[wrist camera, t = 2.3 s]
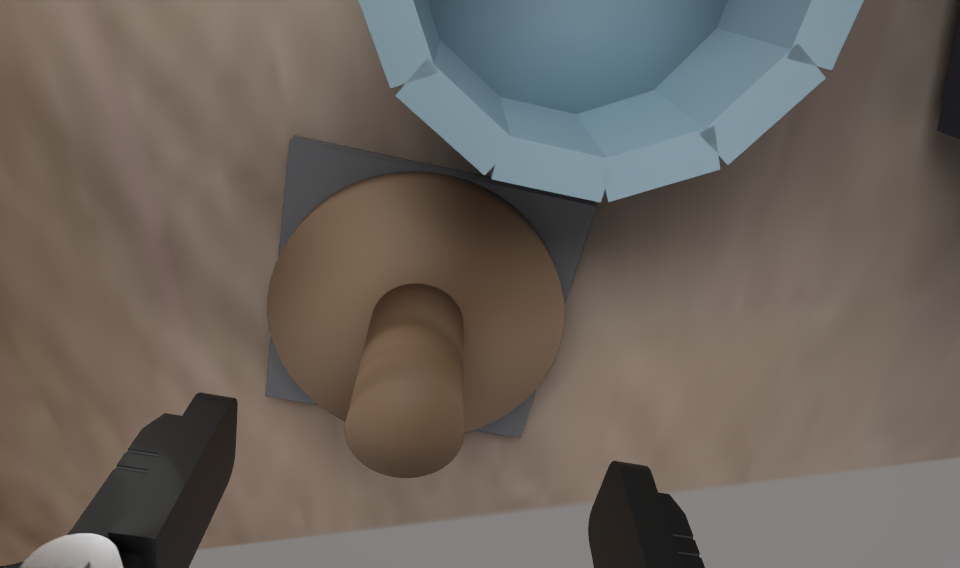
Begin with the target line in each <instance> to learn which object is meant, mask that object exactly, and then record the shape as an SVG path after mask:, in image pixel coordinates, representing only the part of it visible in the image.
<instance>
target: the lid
mask: <svg viewBox="0 0 960 568" xmlns="http://www.w3.org/2000/svg"><path fill="white" fill-rule="evenodd" d="M267 314H268V322H269V329H270V333H271V336H272V340H273V343H274V347H275V349H276V351H277V353H278V355H279V357H280V360H281V362H282V363H283V365H284V367H285V368H286V370H287V371H288V373H289V375H290V376H291V377H292V379H293V380H294V381H295V382H296V383H297V385H298V386H299V387H300V388H301V389H302V390H303V391H304V392H305V393H306V394H307V395H308V396H309V397H310V398H311V399H312V400H313V401H314V402H316V403H317V404H319V405H320V406H321V407H323V408H324V409H325V410H327V411H328V412H330V413H331V414H333V415H335V416H337V417H338V418H340V419H342V420H344V421H346V423H345V437H346V441H347V444H348V446H349V448H350V450H351V452H352V453H353V454H354V456H355V457H356V458H357V459H358V460H359V461H360V462H361V463H363V464H364V465H365V466H367V467H368V468H370V469H372V470H374V471H376V472H378V473H381V474H384V475H387V476H392V477H399V478H413V477H420V476H425V475H428V474H431V473H434V472H436V471H438V470H440V469H442V468H443V467H445V466H446V465H447V464H449V463H450V462H451V461H452V460H453V459H454V458H455V456H456V455H457V454H458V452H459V450H460V448H461V446H462V443H463V438H464V433H465V432H469V431H472V430H475V429H478V428H481V427H483V426H485V425H487V424H490V423H492V422H494V421H496V420H498V419H499V418H501V417H503V416H505V415H506V414H508V413H510V412H511V411H512V410H514V409H515V408H516V407H518V406H519V405H520V404H522V403H523V402H524V401H525V400H526V399H527V398H528V397H529V396H530V395H531V394H532V393H533V392H534V391H535V390H536V388H537V387H538V386H539V385H540V384H541V382H542V381H543V380H544V378H545V377H546V375H547V373H548V372H549V370H550V368H551V367H552V365H553V363H554V360H555V358H556V356H557V353H558V351H559V348H560V344H561V340H562V336H563V330H564V320H565V312H564V299H563V294H562V288H561V284H560V280H559V277H558V274H557V270H556V267H555V265H554V262H553V259H552V256H551V254H550V252H549V250H548V248H547V246H546V244H545V242H544V240H543V239H542V237H541V236H540V234H539V233H538V232H537V230H536V229H535V228H534V226H533V225H532V223H531V222H530V221H529V220H528V219H527V218H526V217H525V216H524V215H523V214H522V213H521V212H520V211H519V210H518V209H516V208H515V207H514V206H513V205H511V204H510V203H509V202H507V201H506V200H505V199H504V198H502V197H500V196H499V195H497V194H495V193H493V192H492V191H490V190H488V189H487V188H484V187H482V186H480V185H477V184H475V183H473V182H470V181H468V180H465V179H461V178H457V177H454V176H450V175H446V174H439V173H432V172H414V171H406V172H396V173H387V174H383V175H378V176H374V177H370V178H366V179H364V180H361V181H358V182H356V183H353V184H351V185H348V186H346V187H344V188H343V189H341V190H339V191H337V192H335V193H333V194H332V195H330V196H329V197H328V198H326V199H325V200H324V201H322V202H321V203H320V204H318V205H317V206H316V207H315V208H314V209H313V210H312V211H311V212H310V213H309V214H308V215H307V216H306V217H305V218H304V219H303V220H302V221H301V223H300V224H299V225H298V227H297V228H296V230H295V231H294V232H293V234H292V235H291V237H290V239H289V240H288V242H287V244H286V245H285V247H284V249H283V251H282V253H281V255H280V257H279V259H278V260H277V262H276V265H275V268H274V271H273V274H272V277H271V280H270V286H269V291H268V305H267Z"/></svg>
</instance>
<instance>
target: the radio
mask: <svg viewBox="0 0 960 568" xmlns="http://www.w3.org/2000/svg"><path fill="white" fill-rule="evenodd" d="M937 131H940V132H942V133H945V134H948V135H950V136H953V137H956V138H958V139H960V15H959V21H958V26H957V31H956V36H955V41H954V46H953V51H952V57H951V62H950V67H949V72H948V77H947V82H946V87H945V92H944V98H943V103H942V108H941V113H940V118H939V123H938V128H937Z"/></svg>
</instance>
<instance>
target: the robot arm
mask: <svg viewBox="0 0 960 568" xmlns="http://www.w3.org/2000/svg"><path fill="white" fill-rule="evenodd" d="M236 427H237V400H236V398H230V397H224V396H218V395H212V394H206V393H198V394H196V395H195V397H194V398H193V400H192V401H191V403H190V405H189V406H188V408H187V409H186V411H185V412H184V414H183V416H179V415H172V414H166V413H165V414H163V415H162V416H160V417H159V418H157V419H156V420H154V421H153V422H151V423H150V424H149V425H147V426H146V427H144V428H143V429H142V430H141V431H140V433H139V434H138V435H137V437H136V438H135V440H134V441H133V443H132V444H131V445H130V447H129V448H128V452H127V453H125V454H124V455H123V457H122V458H121V460H120V461H119V463H118V464H117V467H116V469H114V470H113V471H112V473H111V474H110V475H109V477H108V478H107V480H106V481H105V483H104V484H103V485H102V487H101V488H100V490H99V491H98V493H97V494H96V495H95V497H94V498H93V500H92V501H91V502H90V504H89V505H88V507H87V508H86V510H85V511H84V512H83V514H82V515H81V517H80V518H79V520H78V521H77V522H76V524H75V525H74V527H73V528H72V529H71V531H70V532H69V533H68V534H67V536H63V537H60V538H57V539H54V540H52V541H50V542H48V543H46V544H44V545H43V546H41V547H40V548H38V549H37V550H36V551H34V552H33V553H32V554H31V555H30V556H29V557H28V558H27V559H26V560H25V561H23V562H20V563H16V564H12V565H7V566H0V568H189V565H190V563H191V561H192V559H193V557H194V555H195V553H196V551H197V548H198V546H199V544H200V542H201V540H202V538H203V536H204V533H205V531H206V529H207V527H208V525H209V523H210V521H211V519H212V516H213V514H214V512H215V510H216V508H217V506H218V504H219V501H220V499H221V497H222V495H223V493H224V491H225V489H226V487H227V484H228V482H229V479H230V476H231V473H232V469H233V465H234V460H235V449H236ZM588 534H589V542H590V548H591V554H592V559H593V564H594V568H705V567H704V564H703V561H702V559H701V558H700V557H699V554H700V553H699V550H698V548H697V545H696V542H695V540H693V534H692V531H691V529H690V526H689V523H688V520H687V518H686V515H685V513H684V512H683V511H682V510H681V508H680V507H679V506H678V505H677V503H676V502H675V501H674V500H673V498H672V497H671V496H670V495H669V494H664V493H658V491H657V488H656V485H655V482H654V479H653V476H652V473H651V470H650V469H649V468H648V467H647V466H643V465H637V464H631V463H625V462H618V461H613V462H612V463H611V464H610V465H609V468H608V470H607V472H606V475H605V477H604V480H603V482H602V485H601V487H600V490H599V492H598V495H597V497H596V500H595V502H594V505H593V507H592V510H591V513H590V518H589V527H588Z"/></svg>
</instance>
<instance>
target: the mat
mask: <svg viewBox="0 0 960 568" xmlns="http://www.w3.org/2000/svg"><path fill="white" fill-rule="evenodd" d="M406 171H414V172H432V173H439V174H446V175H450V176H454V177H457V178H461V179H465V180H468V181H470V182H473V183H475V184H477V185H480V186H482V187H484V188H487V189H488V190H490V191H492V192H493V193H495V194H497V195H499V196H500V197H502V198H504V199H505V200H506V201H507V202H509V203H510V204H511V205H513V206H514V207H515V208H516V209H518V210H519V211H520V212H521V213H522V214H523V215H524V216H525V217H526V218H527V219H528V220H529V221H530V222H531V223H532V225H533V226H534V228H535V229H536V230H537V232H538V233H539V234H540V236H541V237H542V239H543V240H544V242H545V244H546V246H547V248H548V250H549V252H550V254H551V256H552V259H553V262H554V265H555V267H556V270H557V274H558V277H559V280H560V284H561V288H562V294H563V299H564V304H565V301H566V298H567V295H568V292H569V289H570V286H571V283H572V280H573V277H574V274H575V271H576V268H577V265H578V262H579V259H580V256H581V253H582V250H583V247H584V244H585V241H586V238H587V235H588V232H589V229H590V225H591V222H592V219H593V216H594V213H595V210H596V207H597V206H596V204H595V202H594V201H591V200H586V199H581V198H577V197H572V196H567V195H563V194H558V193H553V192H549V191H544V190H539V189H535V188H530V187H525V186H521V185H516V184H511V183H507V182H502V181H497V180H493V179H491V178H490V177H485V176H481V175H476V174H471V173H467V172H462V171H457V170H453V169H448V168H443V167H439V166H434V165H429V164H425V163H420V162H415V161H411V160H406V159H401V158H397V157H392V156H387V155H383V154H378V153H373V152H369V151H364V150H359V149H355V148H350V147H345V146H341V145H336V144H331V143H327V142H322V141H317V140H313V139H308V138H303V137H299V136H294V137H293V138H292V139H291V140H290V142H289V153H288V163H287V174H286V184H285V195H284V205H283V216H282V226H281V236H280V247H279V257H280V255H281V253H282V251H283V249H284V247H285V245H286V244H287V242H288V240H289V239H290V237H291V235H292V234H293V232H294V231H295V230H296V228H297V227H298V225H299V224H300V223H301V221H302V220H303V219H304V218H305V217H306V216H307V215H308V214H309V213H310V212H311V211H312V210H313V209H314V208H315V207H316V206H317V205H318V204H320V203H321V202H322V201H324V200H325V199H326V198H328V197H329V196H330V195H332V194H333V193H335V192H337V191H339V190H341V189H343V188H344V187H346V186H348V185H351V184H353V183H356V182H358V181H361V180H364V179H366V178H370V177H374V176H378V175H383V174H387V173H396V172H406ZM279 257H278V259H279ZM536 389H537V388H536ZM535 392H536V390H535V391H534V392H533V393H532V394H531V395H530V396H529V397H528V398H527V399H526V400H525V401H524V402H523V403H522V404H520V405H519V406H518V407H516V408H515V409H514V410H512V411H511V412H510V413H508V414H506V415H505V416H503V417H501V418H499V419H498V420H496V421H494V422H492V423H490V424H487V425H485V426H483V427H481V428H478V429H475V430H474V431H481V432H487V433H493V434H499V435H505V436H511V437H517V438H520V437H521V434H522V431H523V428H524V425H525V422H526V419H527V416H528V413H529V410H530V407H531V404H532V401H533V398H534V395H535ZM265 396H267V397H273V398H279V399H285V400H291V401H297V402H303V403H309V404H315V405H319V404H317V403H316V402H314V401H313V400H312V399H311V398H310V397H309V396H308V395H307V394H306V393H305V392H304V391H303V390H302V389H301V388H300V387H299V386H298V385H297V383H296V382H295V381H294V380H293V379H292V377H291V376H290V375H289V373H288V371H287V370H286V368H285V367H284V365H283V363H282V362H281V360H280V357H279V355H278V353H277V351H276V349H275V347H274V343H273V340H272V336H271V341H270V351H269V362H268V372H267V383H266V393H265Z"/></svg>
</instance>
